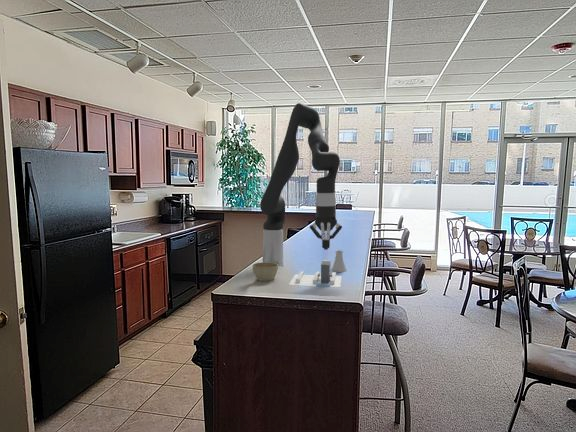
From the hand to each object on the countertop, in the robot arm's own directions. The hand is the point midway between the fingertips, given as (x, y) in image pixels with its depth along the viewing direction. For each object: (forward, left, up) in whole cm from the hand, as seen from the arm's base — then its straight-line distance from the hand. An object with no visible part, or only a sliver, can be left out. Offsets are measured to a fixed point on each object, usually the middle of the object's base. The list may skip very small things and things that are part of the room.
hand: (325, 249), depth 153 cm
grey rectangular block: (0, -1, -12) cm, 12 cm away
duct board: (-4, -2, -14) cm, 14 cm away
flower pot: (-24, -3, -14) cm, 27 cm away
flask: (+4, +16, -14) cm, 22 cm away
